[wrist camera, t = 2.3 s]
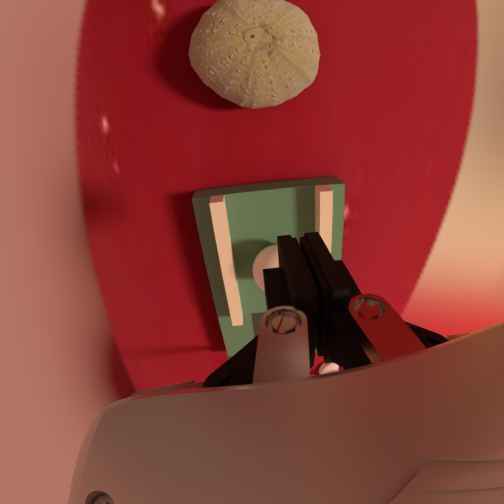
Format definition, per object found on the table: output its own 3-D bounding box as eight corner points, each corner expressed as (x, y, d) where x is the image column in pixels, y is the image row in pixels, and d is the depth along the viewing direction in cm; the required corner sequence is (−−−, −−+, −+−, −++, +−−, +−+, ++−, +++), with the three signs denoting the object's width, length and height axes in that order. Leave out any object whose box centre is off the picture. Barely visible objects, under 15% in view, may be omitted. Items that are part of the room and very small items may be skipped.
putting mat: (178, 193, 23) (121, 305, 11) (336, 176, 23) (429, 268, 11) (217, 350, 33) (214, 456, 21) (326, 337, 33) (356, 438, 21)
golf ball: (249, 238, 23) (251, 265, 20) (297, 233, 23) (308, 259, 20) (253, 278, 25) (256, 308, 22) (298, 272, 25) (307, 301, 22)
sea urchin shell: (237, 139, 19) (182, 67, 12) (206, 81, 21) (160, 21, 14) (346, 88, 17) (336, 1, 10) (296, 38, 19) (273, -31, 12)
